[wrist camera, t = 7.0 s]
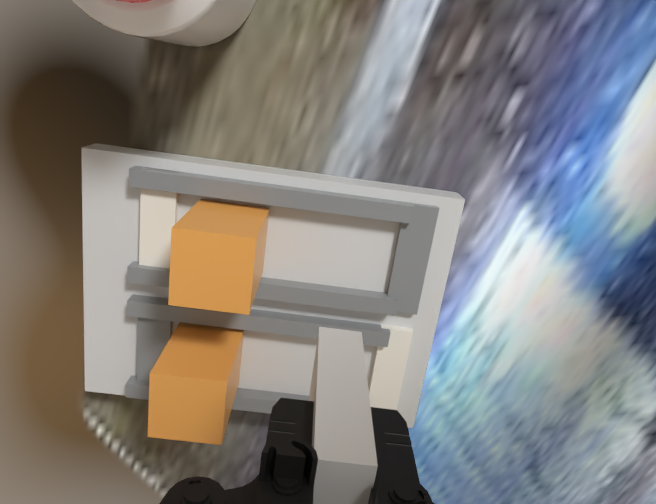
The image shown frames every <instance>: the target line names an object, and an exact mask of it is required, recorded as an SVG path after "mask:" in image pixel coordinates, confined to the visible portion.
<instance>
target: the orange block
mask: <svg viewBox="0 0 656 504" xmlns="http://www.w3.org/2000/svg"><path fill="white" fill-rule="evenodd" d="M268 218H269V208H267V207H259V206H252V205H244V204H236V203H229V202H221V201H214V200H206V199H200V200H199V201H198V202H197V203H196V204H195V205H194V206H193V207H192V208H191V209H190V210H189V211H188V212H187V213H186V214H185V215H184V216H183V217H182V218H181V219H180V220H179V221H178V222H177V223H176V224H175V225H174V226H173V227H172V230H171V253H170V276H169V300H168V305H172V306H180V307H189V308H197V309H205V310H213V311H221V312H230V313H238V314H246V315H249V314H250V311H251V308H252V305H253V301H254V298H255V295H256V292H257V289H258V286H259V282H260V279H261V276H262V273H263V266H264V256H265V247H266V237H267V228H268Z"/></svg>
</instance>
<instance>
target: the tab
mask: <svg viewBox="0 0 656 504" xmlns="http://www.w3.org/2000/svg"><path fill="white" fill-rule="evenodd" d="M243 335H244V330H240V329H232V328H223V327H215V326H207V325H198V324H190V323H182V322H179V324H178V326H177V328H176V329H175V331H174V333H173V334H172V336H171V338H170V339H169V341H168V343H167V345H166V346H165V348H164V350H163V351H162V353H161V355H160V356H159V358H158V360H157V362H156V363H155V365H154V367H153V368H152V370H151V372H150V379H149V411H148V437H152V438H161V439H170V440H180V441H189V442H198V443H207V444H216V445H222V442H223V438H224V435H225V431H226V428H227V424H228V420H229V417H230V413H231V410H232V406H233V402H234V399H235V395H236V392H237V388H238V385H239V377H240V366H241V356H242V345H243Z"/></svg>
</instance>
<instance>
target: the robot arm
mask: <svg viewBox="0 0 656 504" xmlns="http://www.w3.org/2000/svg"><path fill="white" fill-rule="evenodd" d="M160 504H434V503H433V502H432V500H431V498H430V496H429V494H428V492H427V491H426V490H425V489H424V487H423V486H422V485H421V484H420V482H419V478H418V473H417V468H416V464H415V459H414V454H413V450H412V447H411V441H410V437H409V431H408V427H407V422H406V421H405V419H404V418H403V417H402V416H401V414H400V413H399V412H398V410H391V409H383V408H375V407H371V406H370V398H369V389H368V381H367V373H366V364H365V356H364V348H363V339H362V332H359V331H351V330H343V329H335V328H327V327H319V332H318V339H317V345H316V352H315V359H314V366H313V372H312V379H311V386H310V393H309V401H306V400H298V399H289V398H280V399H279V400H278V401H277V402H276V404H275V405H274V406H273V407H272V412H271V417H270V423H269V429H268V435H267V441H266V445H265V447H264V449H263V451H262V456H261V464H260V473H259V475H258V476H257V478H256V479H254V480H253V481H252V482H251V483H249V484H247V485H245V486H243V487H239V488H235V489H229V490H224V489H223V488H222V486H221V485H220V484H219V483H218V482H216V481H214V480H212V479H210V478H205V477H192V478H186V479H184V480H182V481H180V482H178V483H176V484H175V485H174V486H173V487H172V488H171V489H170V490H169V491H168V493H167V494H166V495H165V497H164V498H163V499H162V501H161V502H160Z"/></svg>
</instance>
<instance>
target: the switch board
mask: <svg viewBox="0 0 656 504" xmlns="http://www.w3.org/2000/svg"><path fill="white" fill-rule="evenodd" d="M81 150H82V151H81V152H82V217H83V218H82V220H83V291H84V360H85V391H90V392H98V393H107V394H116V395H125V396H126V397H127V398H136V399H145V400H149V379H150V372H151V370H152V368H153V367H154V365H155V363H156V362H157V360H158V358H159V356H160V355H161V353H162V351H163V350H164V348H165V346H166V345H167V343H168V341H169V339H170V338H171V336H172V334H173V333H174V331H175V329H176V328H177V326H178V324H179V322H182V323H190V324H198V325H207V326H215V327H223V328H232V329H240V330H244V335H243V345H242V356H241V366H240V377H239V385H238V388H237V392H236V395H235V399H234V402H233V406H232V409H233V410H242V411H251V412H260V413H269V414H271V412H272V407H273V406H274V405H275V404H276V402H277V401H278V400H279V399H280V398H289V399H298V400H306V401H309V393H310V386H311V379H312V372H313V366H314V359H315V352H316V345H317V339H318V332H319V327H327V328H335V329H343V330H351V331H359V332H362V339H363V348H364V356H365V364H366V373H367V381H368V389H369V398H370V406H371V407H375V408H383V409H391V410H398V412H399V413H400V414H401V416H402V417H403V418H404V419H405V421H406V422H407V427H408V428H413V426H414V422H415V418H416V413H417V409H418V405H419V400H420V396H421V391H422V387H423V383H424V378H425V374H426V369H427V365H428V361H429V356H430V352H431V347H432V343H433V339H434V334H435V330H436V325H437V321H438V317H439V312H440V308H441V303H442V299H443V295H444V290H445V286H446V281H447V277H448V273H449V268H450V264H451V259H452V255H453V251H454V246H455V242H456V237H457V233H458V229H459V224H460V220H461V215H462V211H463V207H464V202H465V199H464V198H463V197H462V196H460V195H459V194H458V193H457V192H451V191H444V190H436V189H429V188H422V187H414V186H407V185H400V184H392V183H385V182H378V181H370V180H363V179H356V178H348V177H341V176H334V175H326V174H319V173H312V172H304V171H297V170H290V169H282V168H275V167H268V166H260V165H253V164H245V163H238V162H231V161H223V160H216V159H209V158H201V157H194V156H187V155H179V154H172V153H165V152H157V151H150V150H143V149H135V148H128V147H121V146H113V145H106V144H98V143H95V144H92V145H89V146H85V147H82V148H81ZM200 199H206V200H214V201H221V202H229V203H236V204H244V205H252V206H259V207H267V208H269V218H268V228H267V237H266V247H265V256H264V266H263V273H262V276H261V279H260V282H259V286H258V289H257V292H256V295H255V298H254V301H253V305H252V308H251V311H250V314H249V315H246V314H238V313H230V312H221V311H213V310H205V309H197V308H189V307H180V306H172V305H168V300H169V276H170V253H171V230H172V227H173V226H174V225H175V224H176V223H177V222H178V221H179V220H180V219H181V218H182V217H183V216H184V215H185V214H186V213H187V212H188V211H189V210H190V209H191V208H192V207H193V206H194V205H195V204H196V203H197V202H198V201H199V200H200Z"/></svg>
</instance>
